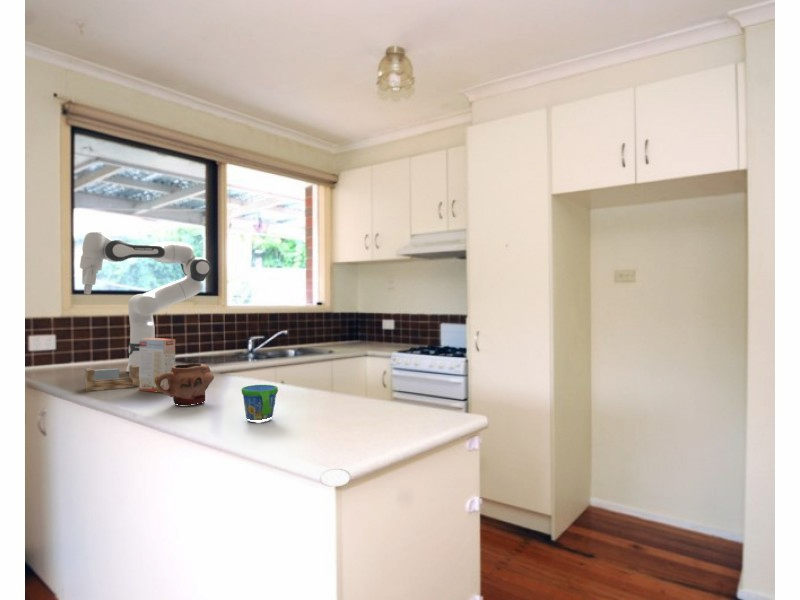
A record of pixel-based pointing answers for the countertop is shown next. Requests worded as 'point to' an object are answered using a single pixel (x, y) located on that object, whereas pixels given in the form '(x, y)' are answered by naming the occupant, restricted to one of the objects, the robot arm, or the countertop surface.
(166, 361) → the cracker box
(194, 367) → the brown mug
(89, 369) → the track frame
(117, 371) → the door panel
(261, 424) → the countertop surface
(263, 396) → the snack cup
